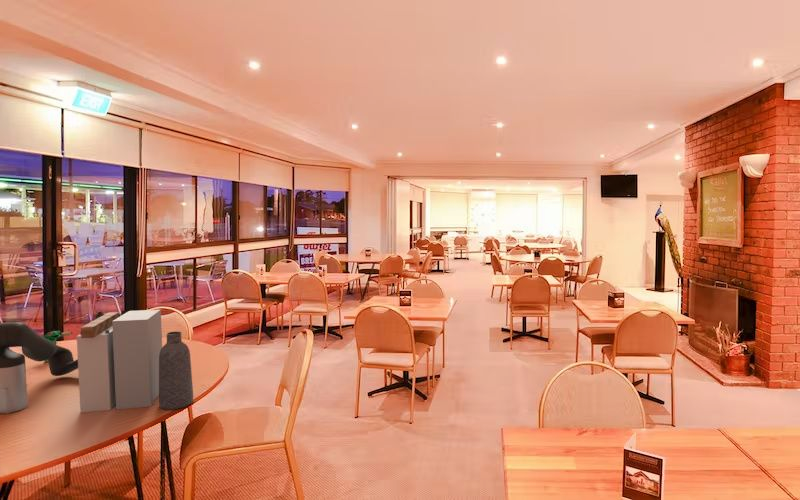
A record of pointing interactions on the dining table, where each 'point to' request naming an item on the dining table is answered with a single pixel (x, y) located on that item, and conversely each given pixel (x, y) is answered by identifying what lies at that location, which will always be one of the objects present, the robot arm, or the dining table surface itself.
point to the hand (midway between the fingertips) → (110, 312)
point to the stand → (121, 363)
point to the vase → (175, 374)
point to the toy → (55, 336)
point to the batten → (98, 325)
